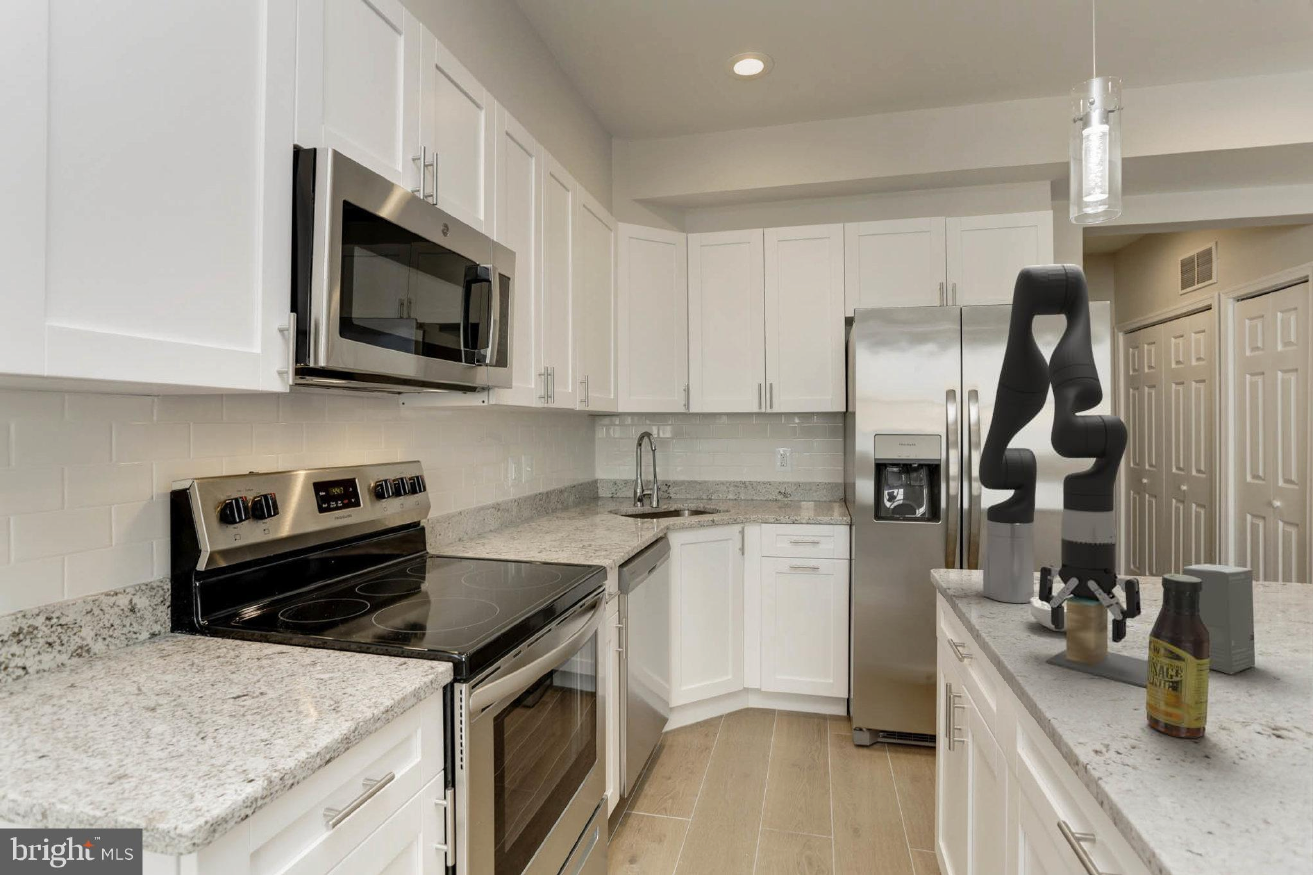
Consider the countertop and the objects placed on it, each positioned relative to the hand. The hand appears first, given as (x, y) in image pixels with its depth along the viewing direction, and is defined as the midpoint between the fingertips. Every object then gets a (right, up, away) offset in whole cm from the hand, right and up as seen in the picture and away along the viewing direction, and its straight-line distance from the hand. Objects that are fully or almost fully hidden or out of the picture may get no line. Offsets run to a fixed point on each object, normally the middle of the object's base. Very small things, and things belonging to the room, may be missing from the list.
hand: (1087, 634), depth 113 cm
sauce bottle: (-4, -5, -25) cm, 26 cm away
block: (0, -4, 0) cm, 4 cm away
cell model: (+6, -4, +17) cm, 19 cm away
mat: (+3, -4, -3) cm, 6 cm away
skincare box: (+20, -4, -2) cm, 20 cm away
